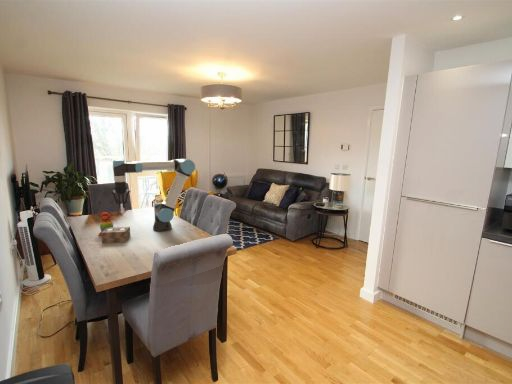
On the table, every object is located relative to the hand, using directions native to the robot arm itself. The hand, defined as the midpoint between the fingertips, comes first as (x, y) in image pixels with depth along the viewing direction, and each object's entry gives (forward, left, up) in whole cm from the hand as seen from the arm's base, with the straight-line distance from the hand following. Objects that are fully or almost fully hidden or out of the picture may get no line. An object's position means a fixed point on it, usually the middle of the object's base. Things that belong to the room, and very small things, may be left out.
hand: (122, 212), depth 198 cm
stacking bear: (+17, -14, -21) cm, 30 cm away
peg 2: (+1, +1, -21) cm, 21 cm away
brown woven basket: (+5, +1, -21) cm, 21 cm away
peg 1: (+10, +1, -21) cm, 23 cm away
